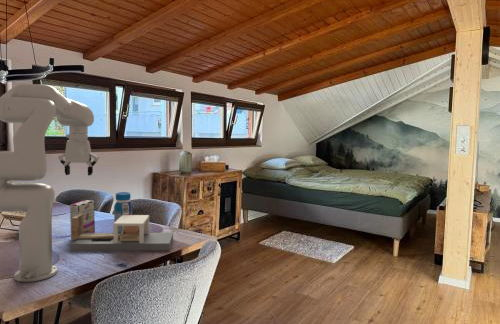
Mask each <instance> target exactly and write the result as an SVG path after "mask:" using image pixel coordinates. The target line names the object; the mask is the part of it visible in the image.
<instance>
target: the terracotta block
mask: <svg viewBox="0 0 500 324" xmlns="http://www.w3.org/2000/svg"><path fill="white" fill-rule="evenodd" d="M138 233H139V226H125V234H138Z"/></svg>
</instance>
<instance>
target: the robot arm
mask: <svg viewBox="0 0 500 324" xmlns="http://www.w3.org/2000/svg"><path fill="white" fill-rule="evenodd" d="M55 118H56V121H57V123H58V124H59V125H61V126H65V127H69V129H68V134H66V135H65V137H66V139H67V138H68V140H67V141H66V144H65V153H63V154H60V155H58V157H57V158H58V160H59V162H60V164H62V165H63V166H64V174H65V176H69V175H71V166H70V164H71V163H72V164H73V163H74V164H77V163H80V164H84V163H85V164H87V165H88V166H87V175H88V176H92V174H93V172H94V166H95V165H96V164H97V163H98V161H99V160H100V159H99V156H98V155H95V154H94V153H92V148H91V143H90V140H88V138H89V136H88V132H89V131H88V129H89V128H88V127H91V126H92V125H93V123H94V121H95V115H94V113H93V111H92V109H91V108H90V107H89V106H88V105H86V104H84V103H81V102H79V101H75V100H73V99H69V98H66V97H65V95H63V94H62V93H61V92H60V91H59V90H58V89H56V88H55V87H54V86H52V85H48V84H38V83H36V84H35V83H19V84H17V85H15V86H12V88H10V89H9V90H7V91H6V92H5V93H3V94H2V95H1V96H0V121H1V122H4V123H9V124H21V125H20V126H19V127H18V128H17V130H16V131H15V132H14V135H13V137H12V143H13V151H8V150H6V151H0V212H11V213H12V212H13V213H14V212H16V213H17V212H18V213H19V212H23V213H26V215H25V216H24V217H23V218H22V219H21V221H20V223H19V224H18V247H19V248H18V251H19V257H18V258H19V270H17V271H16V272H15V273H14V274H13V276H14V277H13V278H14V280H15V281H18V282H22V283H27V282H30V283H31V282H32V283H33V282H38V281H43V280H46V279H49V278H51V277H53V276H55V275H56V274H57V273H58V267H57V266H56V265H53V225H52V223H53V221H52V220H53V219H52V218H53V209H54V202H55V190H54V188H53V187H52V186H51V185H49V184H46V183H40V182H30V181H39V180H42V179H44V178H45V176H46V175H47V171H48V170H47V157H46V149H45V148H46V147H45V145H46V144H45V137H46V134H47V131H48V129H49V127H50V125H51V123H52V122H53V120H54V119H55ZM92 159H93V161H92ZM14 181H15V182H14ZM16 181H17V182H16ZM19 181H20V182H19ZM21 181H22V182H23V181H24V182H23V183H22V182H21ZM26 181H27V182H26ZM28 181H29V182H28Z"/></svg>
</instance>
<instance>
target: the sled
mask: <svg viewBox="0 0 500 324" xmlns="http://www.w3.org/2000/svg"><path fill="white" fill-rule="evenodd" d="M70 223H71V224H70V230H71V229H72V239H77V238H114V234H83V214H77V215H76V216H74V217H73V218H71V222H70ZM118 238H120V241H139V233H138V234H125V229H124V230H123V232H122V233H121V234H118ZM72 239H71V240H72Z"/></svg>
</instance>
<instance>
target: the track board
mask: <svg viewBox="0 0 500 324" xmlns="http://www.w3.org/2000/svg"><path fill="white" fill-rule="evenodd" d="M118 226H122V232H123V230H124V229H125V226H139V241H120V238H118V234H121V233H118ZM83 234H114V238H77V239H76V240H73V241H72V242H71V243H70V244H69V245H70V249H69V251H70V252H101V251H102V252H103V251H104V252H110V251H111V252H112V251H113V252H117V251H121V252H122V251H123V252H124V251H130V252H131V251H133V252H134V251H142V252H143V251H170V249H171V246H172V243H173V240H174V232H150V215H149V214H132V215H122V216H121V217H120V218H119V219H118V220H117V221H116V222H115V223H114V222H113V232H95V233H83Z"/></svg>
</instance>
